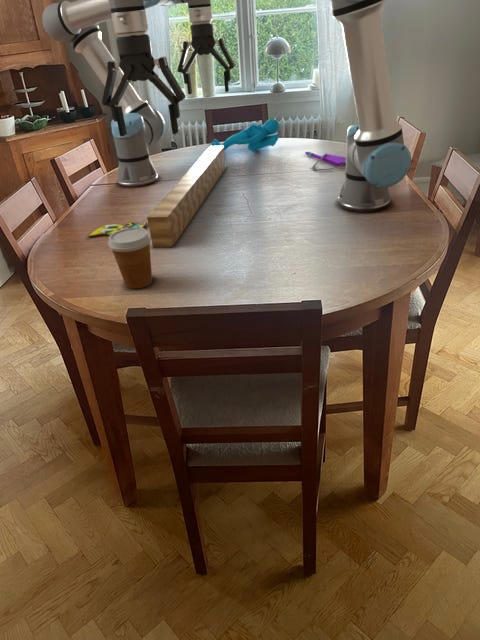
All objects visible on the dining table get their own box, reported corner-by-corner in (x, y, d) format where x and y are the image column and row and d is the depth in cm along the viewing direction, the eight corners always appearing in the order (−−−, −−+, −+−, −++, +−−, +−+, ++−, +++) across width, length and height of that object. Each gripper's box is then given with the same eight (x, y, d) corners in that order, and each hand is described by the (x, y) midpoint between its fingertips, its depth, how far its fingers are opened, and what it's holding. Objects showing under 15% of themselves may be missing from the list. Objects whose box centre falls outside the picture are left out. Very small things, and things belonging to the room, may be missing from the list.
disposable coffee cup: (110, 289, 111) (98, 241, 105) (132, 270, 119) (122, 225, 112) (145, 294, 108) (135, 245, 101) (166, 275, 115) (157, 228, 109)
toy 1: (137, 233, 137) (87, 234, 139) (137, 236, 137) (88, 237, 139) (147, 220, 145) (100, 221, 147) (147, 223, 146) (101, 224, 148)
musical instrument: (342, 175, 173) (362, 153, 185) (341, 169, 172) (361, 148, 184) (283, 174, 186) (305, 153, 198) (282, 169, 184) (305, 148, 196)
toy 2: (216, 133, 217) (279, 113, 206) (223, 156, 222) (286, 138, 212) (206, 142, 203) (273, 121, 193) (214, 166, 208) (280, 148, 198)
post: (212, 168, 192) (209, 146, 187) (225, 167, 191) (223, 145, 186) (152, 246, 130) (147, 217, 126) (172, 246, 129) (167, 217, 125)
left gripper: (162, 26, 159) (172, 96, 171) (235, 20, 155) (240, 92, 166) (169, 25, 166) (178, 92, 177) (239, 19, 161) (244, 88, 172)
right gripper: (73, 40, 106) (96, 139, 118) (181, 30, 102) (194, 135, 113) (88, 38, 113) (108, 132, 124) (190, 29, 108) (201, 128, 119)
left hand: (208, 92), depth 172 cm, fingers open, 13 cm apart
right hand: (149, 134), depth 119 cm, fingers open, 13 cm apart
